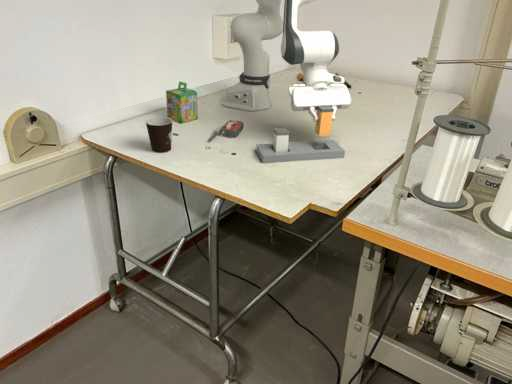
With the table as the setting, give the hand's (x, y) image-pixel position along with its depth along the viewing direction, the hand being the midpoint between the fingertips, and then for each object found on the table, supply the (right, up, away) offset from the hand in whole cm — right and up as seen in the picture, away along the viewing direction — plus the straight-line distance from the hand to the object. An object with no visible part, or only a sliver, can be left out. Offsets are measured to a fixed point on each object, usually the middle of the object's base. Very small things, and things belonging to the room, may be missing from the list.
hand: (324, 120), depth 135 cm
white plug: (-15, -11, +3) cm, 19 cm away
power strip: (-8, -11, +5) cm, 14 cm away
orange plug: (0, -4, +3) cm, 5 cm away
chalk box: (-53, +6, +34) cm, 63 cm away
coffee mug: (-54, -8, +7) cm, 55 cm away
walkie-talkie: (-34, -2, +20) cm, 39 cm away
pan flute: (+14, +36, +94) cm, 102 cm away
